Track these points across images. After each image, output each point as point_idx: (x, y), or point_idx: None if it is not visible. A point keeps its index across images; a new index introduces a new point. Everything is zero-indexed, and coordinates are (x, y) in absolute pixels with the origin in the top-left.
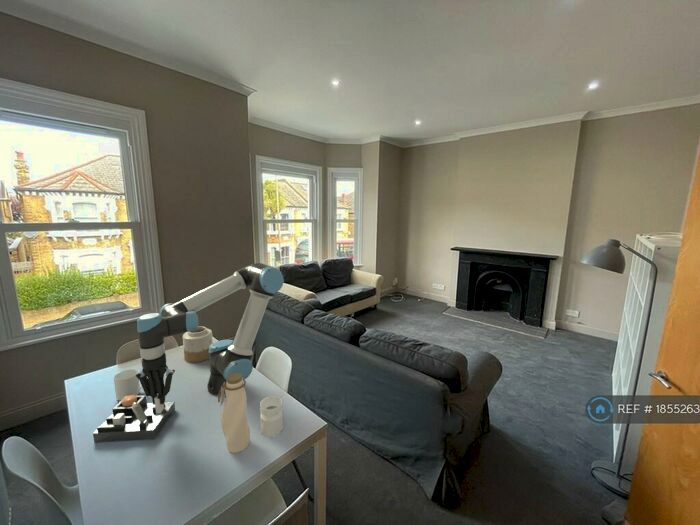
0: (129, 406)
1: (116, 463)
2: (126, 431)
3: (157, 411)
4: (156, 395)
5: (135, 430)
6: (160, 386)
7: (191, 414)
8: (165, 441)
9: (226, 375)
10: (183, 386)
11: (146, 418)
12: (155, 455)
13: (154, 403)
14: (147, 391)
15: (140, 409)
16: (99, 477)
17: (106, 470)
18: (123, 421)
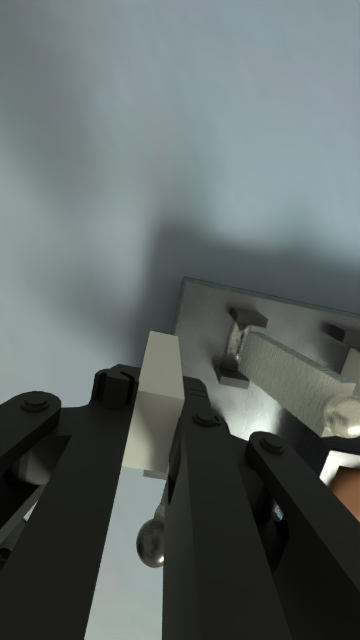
0: (355, 473)
1: (302, 165)
2: (316, 310)
3: (167, 339)
4: (172, 442)
5: (275, 304)
6: (13, 552)
7: (65, 397)
8: (130, 245)
9: None
10: (155, 584)
11: (241, 361)
12: (148, 162)
13: (190, 381)
14: (290, 492)
15: (291, 394)
16: (348, 96)
17: (331, 133)
18: (351, 376)
